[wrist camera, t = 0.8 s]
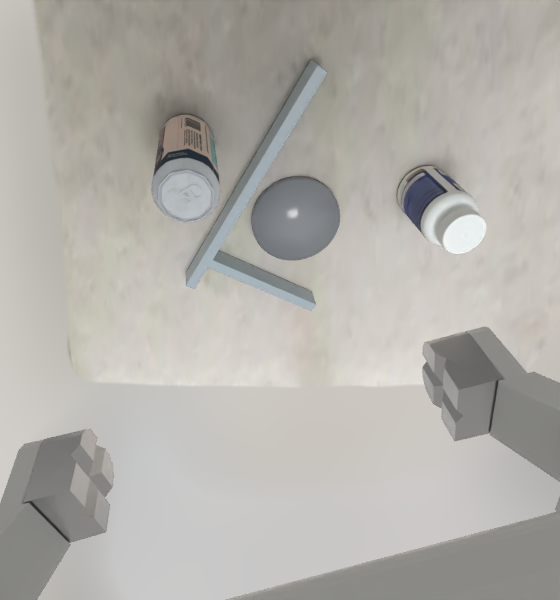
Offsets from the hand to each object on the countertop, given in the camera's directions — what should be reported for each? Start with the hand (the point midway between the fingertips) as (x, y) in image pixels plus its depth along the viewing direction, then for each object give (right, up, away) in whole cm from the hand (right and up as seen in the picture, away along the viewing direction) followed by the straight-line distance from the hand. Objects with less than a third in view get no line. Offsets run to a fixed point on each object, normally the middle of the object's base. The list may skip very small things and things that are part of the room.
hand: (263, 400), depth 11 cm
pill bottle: (+15, +14, +37) cm, 42 cm away
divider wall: (+2, +12, +36) cm, 38 cm away
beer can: (-8, +17, +30) cm, 36 cm away
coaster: (+2, +11, +37) cm, 38 cm away
